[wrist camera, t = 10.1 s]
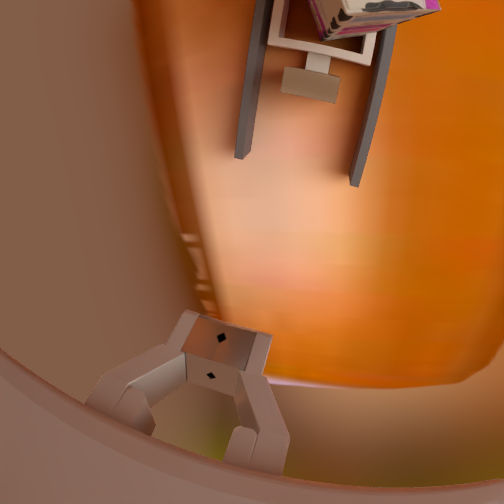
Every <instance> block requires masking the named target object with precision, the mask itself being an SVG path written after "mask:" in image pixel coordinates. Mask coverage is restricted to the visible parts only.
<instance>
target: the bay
mask: <svg viewBox="0 0 504 504" xmlns="http://www.w3.org/2000/svg"><path fill="white" fill-rule="evenodd" d="M272 5H273V0H256V4H255V11H254V17H253V24H252V30H251V37H250V44H249V50H248V57H247V64H246V71H245V79H244V86H243V93H242V101H241V108H240V116H239V124H238V132H237V140H236V148H235V156H234V158H237V159H242V160H243V159H244V157H245V156H246V155H247V154H248V153H249V152H250V151H251V144H252V137H253V130H254V123H255V116H256V109H257V102H258V95H259V89H260V82H261V75H262V69H263V62H264V56H265V49H266V43H267V36H268V30H269V24H270V17H271V11H272ZM396 29H397V25H394V26H391V27H389V28H386V29H383V30H382V33H381V38H380V44H379V49H378V54H377V59H376V64H375V69H374V74H373V78H372V83H371V88H370V92H369V97H368V101H367V105H366V110H365V114H364V118H363V122H362V126H361V130H360V134H359V138H358V142H357V146H356V150H355V154H354V157H353V161H352V165H351V168H350V172H349V181H350V185H351V186H355V187H359V183H360V180H361V177H362V173H363V170H364V166H365V163H366V159H367V156H368V152H369V148H370V145H371V141H372V137H373V134H374V130H375V126H376V122H377V118H378V114H379V110H380V106H381V102H382V97H383V93H384V89H385V84H386V80H387V75H388V70H389V66H390V61H391V56H392V51H393V45H394V40H395V34H396Z"/></svg>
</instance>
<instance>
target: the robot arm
mask: <svg viewBox="0 0 504 504" xmlns="http://www.w3.org/2000/svg"><path fill="white" fill-rule="evenodd" d="M257 331H258V330H254V329H250V328H247V327H243V326H239V325H235V324H232V323H226V322H223V321H220V320H217V319H214V318H211V317H208V316H205V315H202V314H199V313H196V312H193V311H190V310H185V311H184V312H183V314H182V315H181V317H180V319H179V321H178V322H177V324H176V326H175V328H174V329H173V331H172V333H171V335H170V336H169V338H168V340H167V342H166V344H165V345H162V344H160V345H158V346H156V347H154V348H152V349H150V350H148V351H146V352H144V353H142V354H140V355H138V356H136V357H135V358H133V359H131V360H129V361H127V362H125V363H123V364H121V365H119V366H117V367H115V368H113V369H111V370H109V371H107V372H105V373H104V374H103V375H102V377H101V378H100V380H99V381H98V383H97V385H96V386H95V388H94V390H93V391H92V393H91V394H90V396H89V398H88V399H87V401H86V402H85V404H83V403H82V402H80V401H78V400H76V399H75V398H73V397H71V396H69V395H68V394H66V393H64V392H63V391H61V390H59V389H58V388H56V387H55V386H53V385H51V384H50V383H48V382H47V381H45V380H44V379H42V378H41V377H39V376H38V375H36V374H35V373H33V372H32V371H31V370H29V369H28V368H26V367H25V366H23V365H22V364H21V363H19V362H18V361H17V360H15V359H14V358H13V357H11V356H10V355H9V354H7V353H6V352H5V351H3V350H2V349H1V348H0V504H504V480H502V479H494V480H488V481H482V482H476V483H468V484H460V485H450V486H437V487H418V488H378V487H359V486H347V485H337V484H328V483H320V482H313V481H306V480H300V479H294V478H289V477H283V476H281V475H282V470H283V467H284V462H285V458H286V454H287V450H288V445H289V441H290V435H289V433H288V431H287V428H286V426H285V423H284V421H283V418H282V416H281V413H280V411H279V409H278V406H277V404H276V401H275V398H274V396H273V393H272V391H271V388H270V385H269V383H268V380H267V378H266V377H264V376H262V374H263V370H264V366H265V363H266V359H267V356H268V352H269V348H270V345H271V341H272V337H273V335H272V334H268V333H264V332H261V331H258V332H257ZM187 381H188V382H190V383H194V384H197V385H200V386H204V387H207V388H210V389H213V390H216V391H219V392H222V393H225V394H228V395H231V396H234V400H235V404H236V407H237V411H238V415H239V418H240V422H241V425H242V426H238V427H236V428H234V431H233V433H232V436H231V439H230V442H229V445H228V448H227V450H226V453H225V456H224V459H223V461H218V460H215V459H212V458H208V457H205V456H202V455H199V454H196V453H193V452H190V451H187V450H185V449H182V448H179V447H176V446H174V445H171V444H169V443H166V442H163V441H161V440H158V439H156V438H154V437H151V435H152V433H153V431H154V428H155V426H156V424H155V421H154V419H153V416H152V413H151V411H150V408H151V407H152V406H154V405H155V404H157V403H158V402H160V401H161V400H163V399H164V398H166V397H167V396H168V395H170V394H171V393H173V392H174V391H176V390H177V389H178V388H180V387H181V386H183V385H184V384H186V383H187Z"/></svg>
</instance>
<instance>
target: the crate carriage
mask: <svg viewBox="0 0 504 504" xmlns="http://www.w3.org/2000/svg"><path fill="white" fill-rule="evenodd" d="M289 4H290V0H274V6H273V12H272V18H271V25H270V31H269V37H268V45H271V46H273V47H280V48H286V49H292V50H298V51H304V52H308V56H307V61H306V67H305V69H302V68H297V67H284V73H283V79H282V85H281V91H280V92H282V93H288V94H293V95H298V96H303V97H307V98H312V99H316V100H321V101H325V102H329V103H333V104H335V103H336V99H337V94H338V89H339V84H340V79H341V78H340V77H339V76H335V75H330V74H328V71H329V66H330V61H331V57H332V58H337V59H341V60H345V61H349V62H353V63H356V64H360V65H364V66H370V65H371V60H372V55H373V50H374V45H375V39H376V34H377V32H375V33H369V34H366V35H364V36H363V41H362V46H361V51H360V54H359V53H355V52H351V51H347V50H343V49H339V48H335V47H330V46H326V45H321V44H316V43H311V42H305V41H300V40H294V39H288V38H284V35H285V29H286V23H287V17H288V11H289Z"/></svg>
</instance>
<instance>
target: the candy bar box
mask: <svg viewBox="0 0 504 504" xmlns="http://www.w3.org/2000/svg"><path fill="white" fill-rule="evenodd" d="M307 1H308V4H309V7H310V10H311V13H312V16H313V19H314V22H315V25H316V28H317V31H318V35H319V38H320V41H329V40H335V39H342V38H350V37H358V36H364V35H366V34H369V33H375V32H378V31H381V30H383V29H386V28H389V27H391V26H394V25H397V24H400V23H403V22H405V21H409V20H412V19H414V18H417V17H421V16H424V15H427V14H431V13H434V12H437V11H440V10H441V7H440V4H439V1H438V0H307Z"/></svg>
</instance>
